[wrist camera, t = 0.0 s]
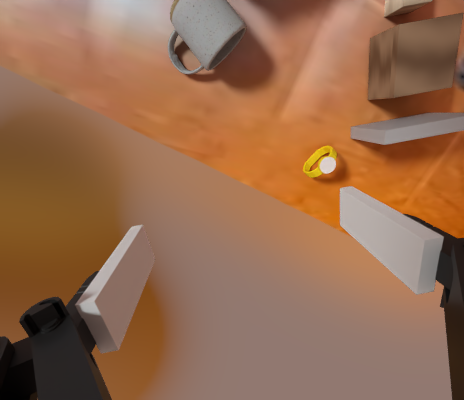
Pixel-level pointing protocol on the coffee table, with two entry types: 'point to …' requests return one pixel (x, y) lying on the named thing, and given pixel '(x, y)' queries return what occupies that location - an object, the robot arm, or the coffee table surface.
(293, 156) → the coffee table surface
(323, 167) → the watch
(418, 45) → the block
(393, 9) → the cream l-shaped piece
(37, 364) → the robot arm
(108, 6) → the coffee table surface
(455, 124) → the wall
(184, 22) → the ceramic mug
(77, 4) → the coffee table surface
